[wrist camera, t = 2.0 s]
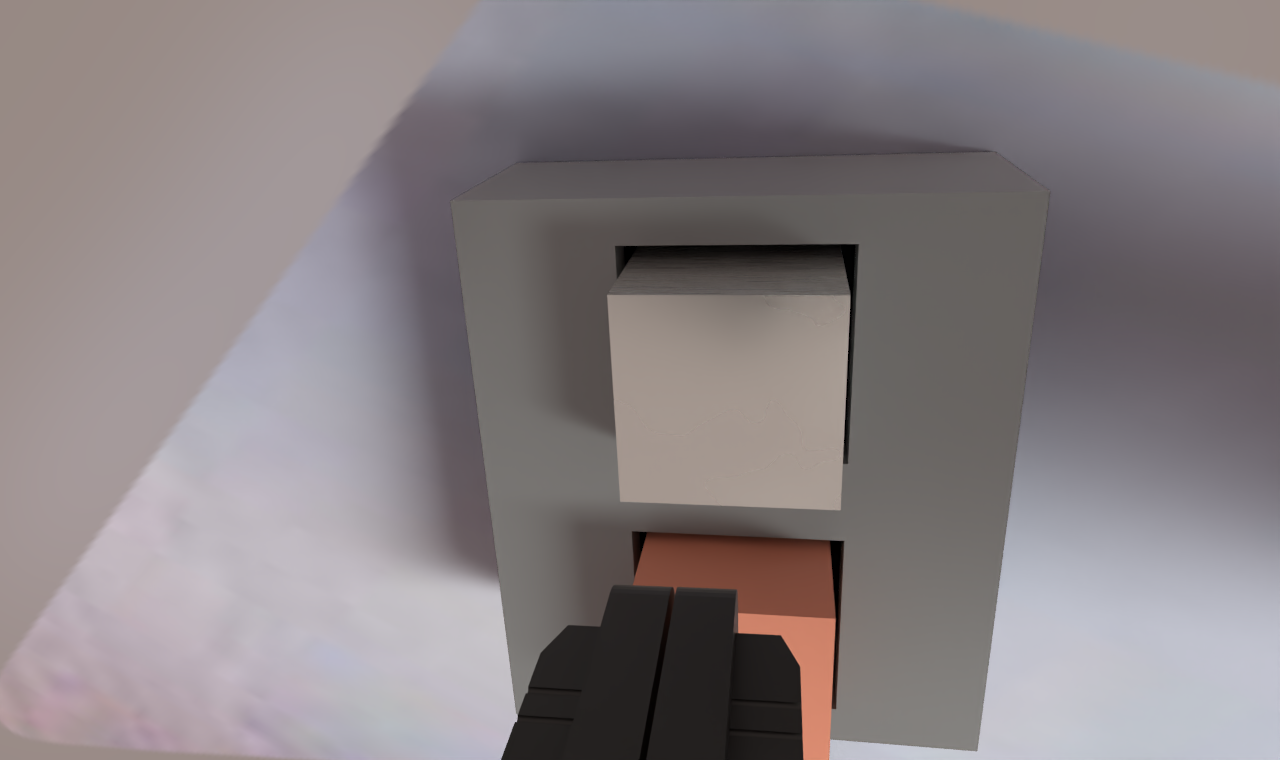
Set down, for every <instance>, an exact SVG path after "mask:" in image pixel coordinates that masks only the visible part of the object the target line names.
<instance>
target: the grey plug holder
mask: <svg viewBox="0 0 1280 760" xmlns="http://www.w3.org/2000/svg"><path fill="white" fill-rule="evenodd" d="M1049 197H1050V190H1048V189H1047V188H1045V187H1044V186H1043V185H1041V184H1040V183H1038V182H1037V181H1036V180H1034V179H1033V178H1031V177H1030V176H1029V175H1027V174H1026V173H1024V172H1023V171H1022V170H1020V169H1019V168H1018V167H1016V166H1015V165H1013V164H1012V163H1011V162H1009V161H1008V160H1006V159H1005V158H1004V157H1002V156H1001V155H999V154H998V153H997V152H953V153H911V154H868V155H826V156H783V157H740V158H698V159H655V160H613V161H570V162H527V163H515V164H514V165H512V166H510V167H508V168H507V169H505V170H503V171H501V172H500V173H498V174H496V175H494V176H493V177H491V178H489V179H488V180H486V181H484V182H482V183H481V184H479V185H477V186H475V187H474V188H472V189H470V190H468V191H467V192H465V193H463V194H461V195H460V196H458V197H456V198H454V199H453V200H451V201H450V203H451V211H452V219H453V227H454V234H455V242H456V250H457V258H458V265H459V273H460V281H461V289H462V296H463V304H464V312H465V320H466V327H467V335H468V343H469V351H470V358H471V366H472V374H473V382H474V389H475V397H476V405H477V413H478V420H479V428H480V436H481V444H482V451H483V459H484V467H485V475H486V482H487V490H488V498H489V506H490V513H491V521H492V529H493V537H494V544H495V552H496V560H497V568H498V575H499V583H500V591H501V599H502V606H503V614H504V622H505V630H506V637H507V645H508V653H509V661H510V668H511V676H512V684H513V692H514V699H515V707H516V714H518V713H519V710H520V707H521V705H522V702H523V699H524V696H525V694H526V693H528V686H529V683H530V680H531V677H532V675H533V672H534V669H535V667H536V664H537V661H538V658H539V656H540V653H541V652H542V651H543V650H544V649H545V648H546V647H547V646H548V645H549V644H550V643H551V642H552V641H553V640H554V639H555V638H556V637H557V636H558V635H559V634H560V633H561V632H562V631H563V630H564V629H565V628H566V627H567V625H579V626H599V627H600V626H601V622H602V619H603V615H604V612H605V608H606V605H607V601H608V598H609V594H610V591H611V588H612V586H613V585H615V584H616V585H633V582H634V579H635V575H636V572H637V568H638V564H639V561H640V557H641V553H640V534H639V532H660V533H682V534H704V535H726V536H748V537H770V538H792V539H814V540H836V541H841V553H840V575H839V591H834V604H835V618H836V621H835V642H834V664H833V686H832V707H831V729H830V739H833V740H845V741H857V742H870V743H882V744H894V745H907V746H919V747H931V748H944V749H956V750H968V751H977V749H978V741H979V734H980V726H981V718H982V711H983V703H984V695H985V688H986V680H987V672H988V665H989V657H990V649H991V642H992V634H993V626H994V619H995V611H996V603H997V596H998V588H999V580H1000V573H1001V565H1002V557H1003V550H1004V542H1005V534H1006V527H1007V519H1008V511H1009V504H1010V496H1011V488H1012V481H1013V473H1014V465H1015V458H1016V450H1017V442H1018V435H1019V427H1020V419H1021V412H1022V404H1023V396H1024V389H1025V381H1026V373H1027V366H1028V358H1029V350H1030V343H1031V335H1032V327H1033V320H1034V312H1035V305H1036V297H1037V289H1038V282H1039V274H1040V266H1041V259H1042V251H1043V243H1044V236H1045V228H1046V220H1047V213H1048V205H1049ZM793 244H855V258H854V279H853V300H852V321H851V342H850V363H849V384H848V405H847V427H846V444H844V448H843V470H842V492H841V510H818V509H793V508H768V507H743V506H718V505H693V504H668V503H643V502H620V490H619V474H618V458H617V443H616V427H615V411H614V395H613V380H612V364H611V348H610V333H609V317H608V301H607V294H608V293H609V291H610V290H611V288H612V287H613V285H614V283H615V282H616V280H617V279H618V277H619V276H620V274H621V272H622V271H623V269H624V268H625V261H624V246H661V245H793Z"/></svg>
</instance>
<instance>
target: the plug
mask: <svg viewBox="0 0 1280 760" xmlns="http://www.w3.org/2000/svg"><path fill="white" fill-rule="evenodd" d="M850 297H851V295H850V290H849V285H848V280H847V275H846V270H845V266H844V261H843V256H842V251H841V246H840V244H793V245H661V246H638V247H637V249H636V250H635V252H634V254H633V255H632V257H631V258H630V260H629V261H628V263H627V265H626V266H625V268H624V269H623V271H622V272H621V274H620V276H619V277H618V279H617V280H616V282H615V283H614V285H613V287H612V288H611V290H610V291H609V293H608V294H607V301H608V317H609V333H610V348H611V364H612V380H613V395H614V411H615V427H616V443H617V458H618V474H619V490H620V502H643V503H668V504H693V505H718V506H743V507H768V508H793V509H818V510H841V492H842V470H843V448H844V427H845V405H846V384H847V362H848V341H849V319H850Z"/></svg>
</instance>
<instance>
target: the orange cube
mask: <svg viewBox="0 0 1280 760" xmlns="http://www.w3.org/2000/svg"><path fill="white" fill-rule="evenodd" d="M633 585H639V586H663V587H673V588H674V592H675V593H676V589H677V587H693V588H717V589H737V592H738V633H746V634H767V635H781V636H782V638H783V639H784V641H785V643H786V644H787V646H788V647H789V649H790V651H791V652H792V654H793V656H794V657H795V659H796V661H797V662H798V664H799V665H800V672H801V701H802V730H803V759H804V760H829V750H830V729H831V707H832V686H833V664H834V642H835V621H836V618H835V604H834V590H833V576H832V562H831V548H830V540H814V539H792V538H770V537H748V536H726V535H704V534H682V533H660V532H647V535H646V539H645V542H644V546H643V550H642V553H641V557H640V561H639V564H638V568H637V572H636V575H635V579H634V582H633Z"/></svg>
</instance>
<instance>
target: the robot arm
mask: <svg viewBox="0 0 1280 760" xmlns="http://www.w3.org/2000/svg"><path fill="white" fill-rule="evenodd" d="M501 760H804V759H803V730H802V701H801V672H800V665H799V664H798V662H797V661H796V659H795V657H794V656H793V654H792V652H791V651H790V649H789V647H788V646H787V644H786V643H785V641H784V639H783V638H782V636H781V635H767V634H746V633H738V592H737V589H717V588H693V587H677V589H676V593H675V592H674V588H673V587H663V586H639V585H616V584H615V585H613V586H612V588H611V591H610V594H609V598H608V601H607V605H606V608H605V612H604V615H603V619H602V622H601V626H600V627H599V626H579V625H567V627H566V628H565V629H564V630H563V631H562V632H561V633H560V634H559V635H558V636H557V637H556V638H555V639H554V640H553V641H552V642H551V643H550V644H549V645H548V646H547V647H546V648H545V649H544V650H543V651H542V652H541V653H540V656H539V658H538V661H537V664H536V667H535V669H534V672H533V675H532V677H531V680H530V683H529V686H528V693H526V694H525V696H524V699H523V702H522V705H521V707H520V710H519V713H518V720H517V722H515V724H514V726H513V729H512V732H511V734H510V737H509V740H508V743H507V745H506V748H505V751H504V753H503V756H502V759H501Z"/></svg>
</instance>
